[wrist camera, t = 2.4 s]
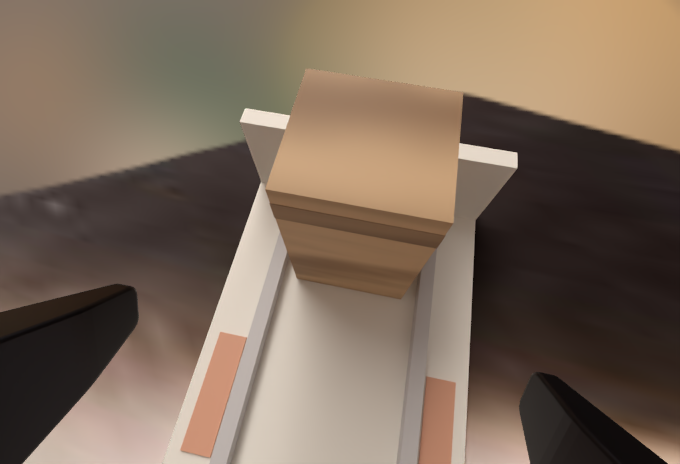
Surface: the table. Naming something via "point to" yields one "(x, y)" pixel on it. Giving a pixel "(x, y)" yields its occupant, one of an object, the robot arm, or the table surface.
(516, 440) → the table surface
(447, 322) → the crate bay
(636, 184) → the table surface
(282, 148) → the tan wooden block
